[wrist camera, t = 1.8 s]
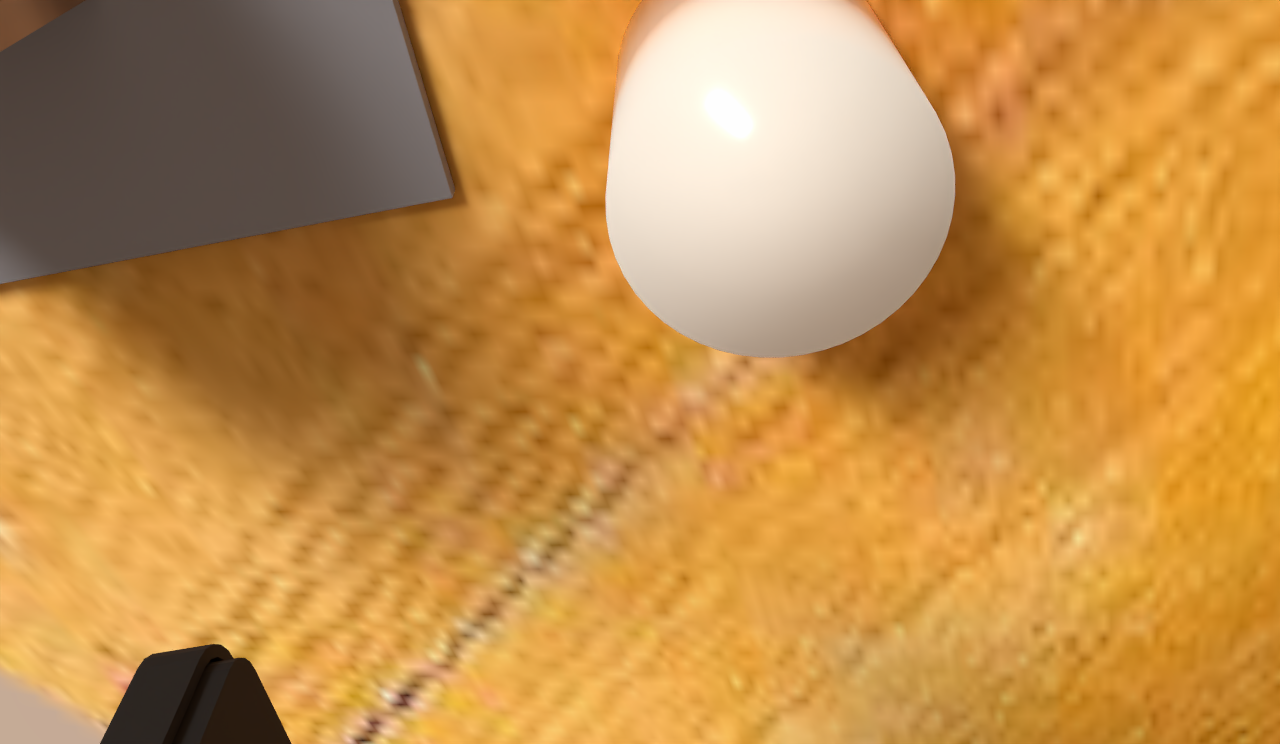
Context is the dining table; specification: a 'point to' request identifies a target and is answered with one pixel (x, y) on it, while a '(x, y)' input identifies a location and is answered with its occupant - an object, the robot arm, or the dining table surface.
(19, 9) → the block
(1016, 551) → the dining table surface
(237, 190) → the mat
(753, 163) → the ceramic cylinder
